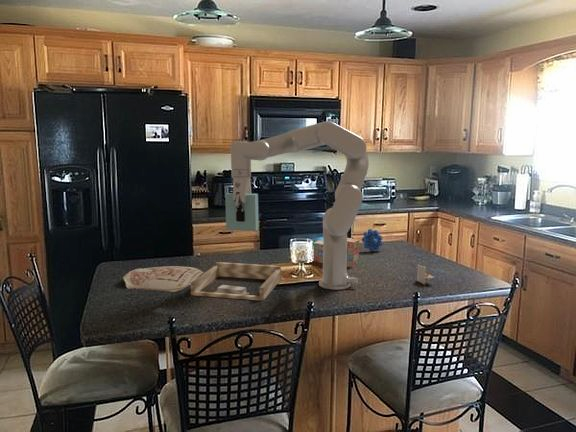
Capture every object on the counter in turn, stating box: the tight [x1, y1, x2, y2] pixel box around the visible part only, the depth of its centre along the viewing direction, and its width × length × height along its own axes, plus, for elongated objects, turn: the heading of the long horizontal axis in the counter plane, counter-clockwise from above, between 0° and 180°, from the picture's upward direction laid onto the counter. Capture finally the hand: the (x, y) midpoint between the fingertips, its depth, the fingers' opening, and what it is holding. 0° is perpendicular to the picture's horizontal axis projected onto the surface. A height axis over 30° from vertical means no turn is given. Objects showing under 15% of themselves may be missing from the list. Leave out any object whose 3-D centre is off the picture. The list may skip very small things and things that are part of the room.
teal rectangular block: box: [224, 192, 260, 232], centre depth 190 cm, size 12×4×14 cm, turn 78°
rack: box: [190, 261, 282, 302], centre depth 190 cm, size 28×27×7 cm
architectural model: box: [416, 264, 435, 285], centre depth 200 cm, size 3×7×7 cm, turn 18°
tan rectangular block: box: [312, 237, 360, 268], centre depth 229 cm, size 21×6×12 cm, turn 58°
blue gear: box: [361, 228, 384, 252], centre depth 250 cm, size 12×7×12 cm, turn 104°
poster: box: [122, 265, 205, 293], centre depth 204 cm, size 28×6×30 cm
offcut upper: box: [217, 284, 247, 295], centre depth 183 cm, size 10×4×2 cm, turn 71°
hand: (242, 219), depth 191 cm, fingers closed on teal rectangular block, 4 cm apart
